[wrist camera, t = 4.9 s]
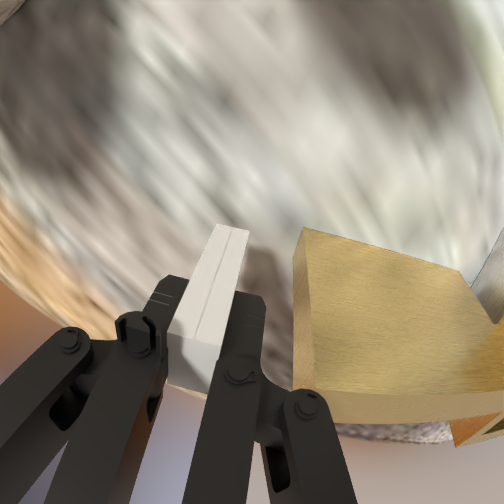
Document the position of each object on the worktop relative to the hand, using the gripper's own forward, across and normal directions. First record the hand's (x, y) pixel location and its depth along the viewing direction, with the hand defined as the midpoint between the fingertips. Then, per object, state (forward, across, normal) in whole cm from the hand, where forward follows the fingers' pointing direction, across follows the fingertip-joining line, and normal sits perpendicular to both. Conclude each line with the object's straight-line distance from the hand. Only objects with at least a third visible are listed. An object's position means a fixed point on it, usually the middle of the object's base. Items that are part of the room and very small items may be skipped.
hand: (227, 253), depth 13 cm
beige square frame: (+2, +14, 0) cm, 14 cm away
